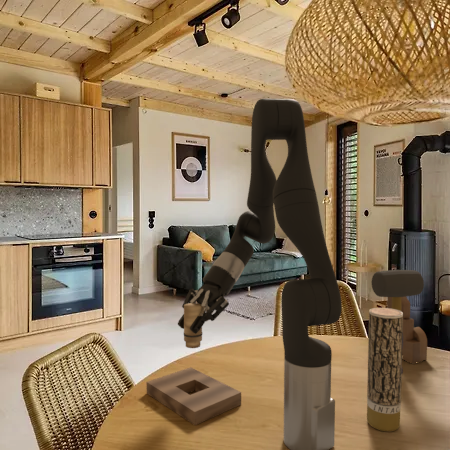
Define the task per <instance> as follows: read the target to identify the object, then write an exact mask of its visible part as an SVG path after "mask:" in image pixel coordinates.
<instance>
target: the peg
mask: <svg viewBox="0 0 450 450" xmlns="http://www.w3.org/2000/svg"><path fill="white" fill-rule="evenodd" d="M201 309H202V307H201V304H198V303H197V302H196V303H188V304H185V305H184V308H183V314H184V329H183V340H184V342H185V347H186V348H188V349H199V348H200V347H201V341H203V326H202V327H201V329H200V330H199V331H198V332H197V333H196V334H195V333H193V332H192V331H191V330H190V326H191V325H192V324H193V322H194V321H195V319H196V318H197V316H200V315H199V314H200V311H201Z"/></svg>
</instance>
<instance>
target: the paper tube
mask: <svg viewBox="0 0 450 450" xmlns="http://www.w3.org/2000/svg"><path fill="white" fill-rule="evenodd" d="M402 336H403V313H402V312H401V311H399V310H395V309H390V308H387V307H373V308H370V309H369V312H368V346H367V349H368V352H367V389H366V390H367V391H366V392H367V393H366V394H367V395H366V396H367V397H366V420H367V421H366V422H368V424H369V426H371V427H372V428H374V429H376V430H378V431H381V432H395V431H397V430H399V428H400V426H401V406H402V405H401V403H402V400H401V399H402V375H401V373H402V369H403V356H402ZM402 374H403V373H402Z"/></svg>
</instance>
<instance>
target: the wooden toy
mask: <svg viewBox="0 0 450 450" xmlns="http://www.w3.org/2000/svg"><path fill="white" fill-rule="evenodd" d="M407 297H408V296H406V297H401V312H402V313H403V348H402V361H404V360H406V361H408V362H407V363H409V362H410V363H409V364H411V363H416V362H420V361H423V360H428V359H427V358H428V338H427V335H426V333H425V331H424V330H423V329H422V328H421V327H420V326H416V327H415V325H414V324H415V320H414V318H412V317H411V302H410V301H409V299H408V298H407ZM386 308H390V309H392V297H387V306H386ZM406 361H405V362H406ZM423 362H424V361H423ZM420 363H421V362H420ZM416 364H417V363H416Z"/></svg>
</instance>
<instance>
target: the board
mask: <svg viewBox="0 0 450 450" xmlns="http://www.w3.org/2000/svg"><path fill="white" fill-rule="evenodd" d="M193 392H194V393H193ZM191 393H192V394H191ZM146 395H148V396H150V397H151V398H153V399H155V400H156V401H157V402H159V403H160V404H162V405H164V407H166V408H168V409H169V410H171V412H173V413H176V414H177V415H178V416H180V417H182V418H183V419H185V421H188V422H189V423H190V424H192V425H193V426H197V425H199V424H202V423H203V422H205V421H207V420H210V419H212V418H215V417H217V416H219V415H221V414H223V413H225V412H228V411H230V410H232V409H234V408H237V407H239V406H240V405H242V391H240V390H238V389H236V388H234V387H232V386H229V385H228V384H226V383H223V382H221V381H220V380H218V379H215V378H214V377H212V376H209V375H207V374H206V373H204V372H201V371H199V370H197V369H196V368H193V367H191V366H190V367H187V368H184V369H181V370H178V371H175V372H172V373H169V374H166V375H163V376H161V377H157V378H154V379H151V380H148V381H146Z"/></svg>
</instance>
